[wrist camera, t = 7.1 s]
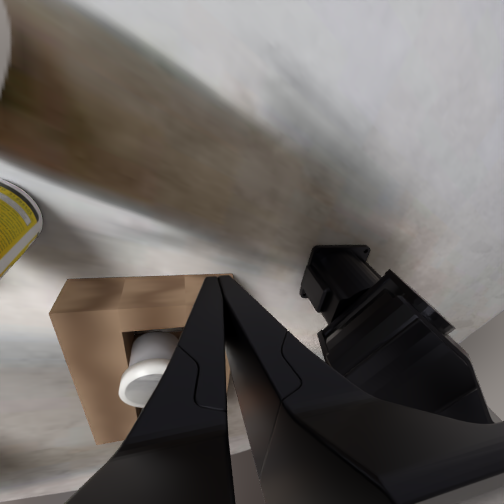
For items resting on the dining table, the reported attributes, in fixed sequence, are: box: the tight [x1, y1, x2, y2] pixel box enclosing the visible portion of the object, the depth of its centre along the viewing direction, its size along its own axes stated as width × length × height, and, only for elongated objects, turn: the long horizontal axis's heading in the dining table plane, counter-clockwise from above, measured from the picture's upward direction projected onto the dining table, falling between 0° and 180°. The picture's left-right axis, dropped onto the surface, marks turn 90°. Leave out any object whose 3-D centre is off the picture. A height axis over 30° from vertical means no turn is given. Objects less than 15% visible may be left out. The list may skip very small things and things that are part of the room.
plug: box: [119, 331, 179, 408], centre depth 22 cm, size 5×5×4 cm
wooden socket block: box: [49, 274, 233, 445], centre depth 28 cm, size 14×20×4 cm
